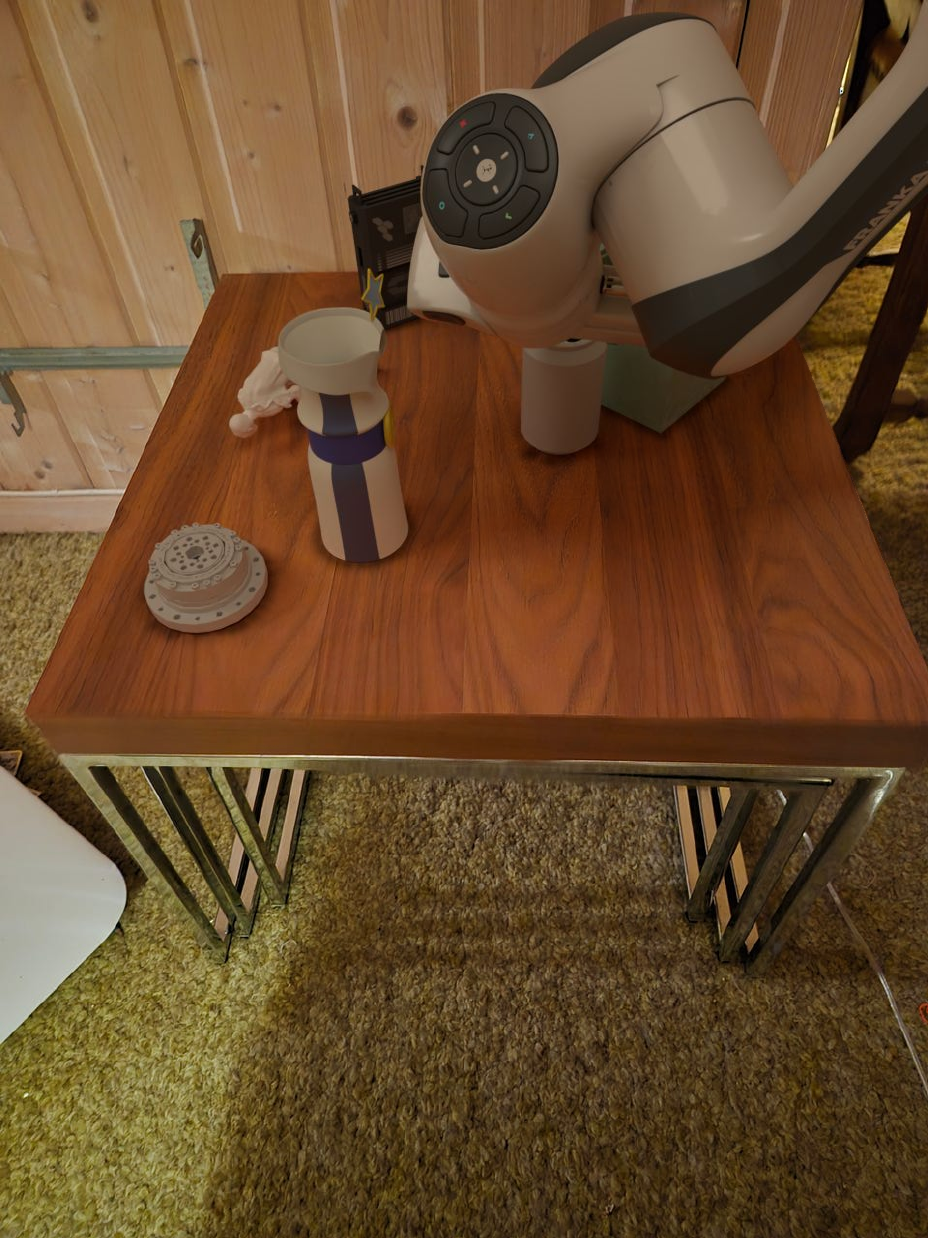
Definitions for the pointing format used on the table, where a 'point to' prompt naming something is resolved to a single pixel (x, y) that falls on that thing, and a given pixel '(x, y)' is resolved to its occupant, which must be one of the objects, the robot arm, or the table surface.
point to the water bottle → (347, 426)
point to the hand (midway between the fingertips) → (559, 328)
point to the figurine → (263, 394)
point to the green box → (649, 385)
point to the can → (562, 395)
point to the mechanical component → (204, 579)
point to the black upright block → (387, 243)
